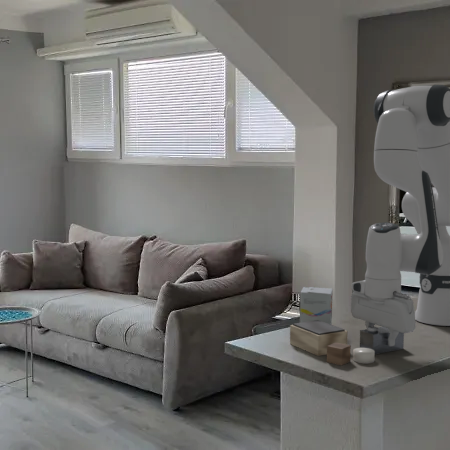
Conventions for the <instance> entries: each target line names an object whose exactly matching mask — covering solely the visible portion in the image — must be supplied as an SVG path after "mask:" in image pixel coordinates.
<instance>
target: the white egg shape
mask: <svg viewBox="0 0 450 450" xmlns="http://www.w3.org/2000/svg"><path fill="white" fill-rule="evenodd" d="M352 351H353V354H352V360H353V362H356V363H357V364H364V365H365V364H373V363H374V362H375V355H376V354H375V351H374V350H373V349H369V348H360V347H356V348H353V349H352Z"/></svg>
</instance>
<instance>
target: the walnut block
mask: <svg viewBox="0 0 450 450" xmlns="http://www.w3.org/2000/svg"><path fill="white" fill-rule="evenodd" d="M351 350H352V349H351V345H350V344H347V345H346V344H341V343H333V344H331V345H328V346H327V355H326V363H328V364H334V365H338V366H343V365H346V364H348V363H351Z"/></svg>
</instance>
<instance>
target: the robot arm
mask: <svg viewBox="0 0 450 450" xmlns="http://www.w3.org/2000/svg"><path fill="white" fill-rule="evenodd" d="M372 108H373V110H372V111H373V118H374V120H375V122H376V124H377V126H376V131H375V137H374V145H373V147H374V149H373V167H374V171H375V173H376V175H377V176H378V178H379V179H380V180H381V181H383V182H384V183H385V184H387V185H389V186H390V187H394V188H396V189H399V190H401V191H403V192H405V194H404V195H403V198H402V200H401V210H402V214H403V215H404V218H406V219H407V221H409V222H410V224H412V226H413V228H414V229H415V231H416V233H417V234H411V233H410V234H407V233H401V228H400V226H399V225H398V224H396V223H394V222H378V223H374V224H372V225H370V226H369V228H368V231H367V236H366V243H365V254H364V255H365V263H366V271H365V274H364V279H363V280H359V281H354V282H352V283H351V285H350V286H351V287H350V289H351V291H353V292H352V293H351V296H350V313H351V315H352V318H355V319H357V320H361V321H364V322H365V328H366V329H367V327H369V326H373V327H375V325H376V326H378V327H385V328H388V329H389V333H390V335H389V337H388V338H386V345H388V346H394V345H395V339H396V337H397V335H398V334H399V332H401V333H404V334H411V333H413V332H414V331H415V329H416V327H417V325H416V321H417V322H420V323H424V324H427V325H433V326H442V327H443V326H444V327H446V326H447V327H449V326H450V234H449V232H448V229H447V227H450V87H449V86H447V85H443V84H433V85H412V86H409V87H403V88H399V89H388V90H385V91H383V92H381V93H379V94H378V96H377V97H376V98H375V100H374V103H373V107H372ZM401 272H407V273H409V272H410V273H415V274H419V285H420V288H419V291H418V296H417V302H416V303H417V305H416V310H415V306H414V300H413V299H412V298H411V297H410V295H409V294H407V293H402V273H401Z"/></svg>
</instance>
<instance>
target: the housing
mask: <svg viewBox="0 0 450 450" xmlns="http://www.w3.org/2000/svg"><path fill="white" fill-rule="evenodd" d="M389 335H390V333H389V329H388V328H385V327H382V326H374V327H373V326H369V327H367V328H366V329H360V330H359V348H369V349H373V350H374V351H375V355H378V354H382V353H383V354H384V353H389V352H394V351H400V350H404V348H405V347H404V340H405V339H404V338H405V333H401V332H399V334H398V335H397V337H396V339H395V345H394V346H388V345H386V338H388V337H389Z"/></svg>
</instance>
